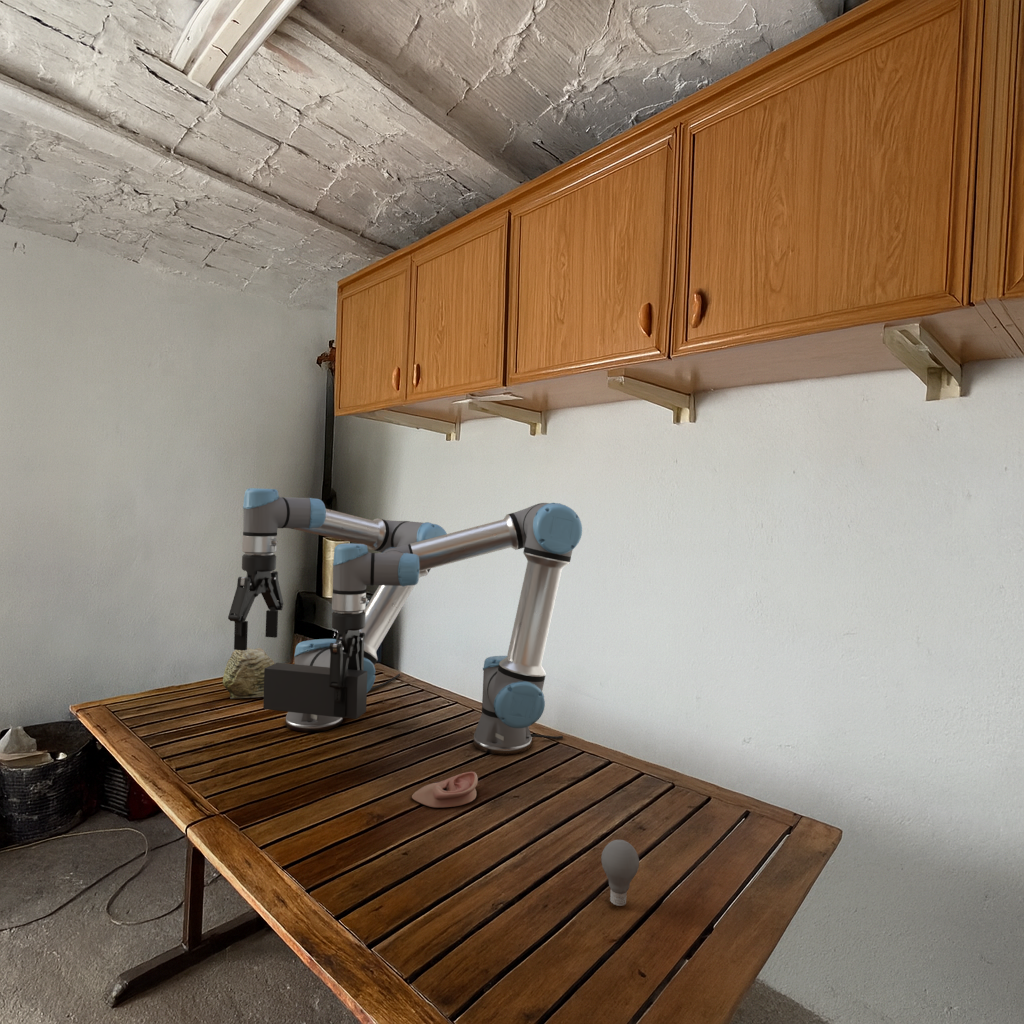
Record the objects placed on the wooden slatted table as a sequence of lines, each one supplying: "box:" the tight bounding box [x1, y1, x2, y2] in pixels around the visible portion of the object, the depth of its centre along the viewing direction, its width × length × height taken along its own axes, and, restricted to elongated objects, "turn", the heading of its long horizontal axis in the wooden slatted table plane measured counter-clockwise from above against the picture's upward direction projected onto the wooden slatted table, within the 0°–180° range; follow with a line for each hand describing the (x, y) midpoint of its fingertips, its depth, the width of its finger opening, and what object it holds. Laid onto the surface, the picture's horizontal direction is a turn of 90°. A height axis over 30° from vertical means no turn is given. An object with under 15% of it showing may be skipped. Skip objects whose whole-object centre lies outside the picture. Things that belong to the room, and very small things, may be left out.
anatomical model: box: [411, 771, 479, 809], centre depth 136 cm, size 13×4×12 cm
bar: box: [262, 662, 368, 720], centre depth 147 cm, size 23×5×10 cm, turn 79°
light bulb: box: [600, 839, 640, 907], centre depth 102 cm, size 6×6×10 cm
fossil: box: [222, 647, 276, 699], centre depth 198 cm, size 9×18×15 cm, turn 132°
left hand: (256, 643), depth 150 cm, fingers open, 13 cm apart
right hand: (346, 711), depth 146 cm, fingers closed on bar, 5 cm apart
